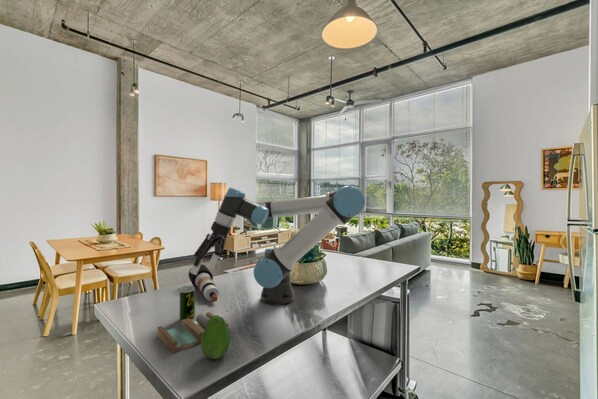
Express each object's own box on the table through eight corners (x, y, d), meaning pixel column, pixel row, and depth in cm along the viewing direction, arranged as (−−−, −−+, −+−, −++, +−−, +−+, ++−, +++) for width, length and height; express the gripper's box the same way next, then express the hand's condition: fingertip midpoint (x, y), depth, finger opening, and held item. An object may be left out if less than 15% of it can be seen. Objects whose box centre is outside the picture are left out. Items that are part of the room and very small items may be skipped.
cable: (209, 315, 118) (198, 297, 115) (194, 286, 147) (185, 271, 144) (230, 301, 123) (220, 283, 119) (211, 275, 151) (203, 260, 148)
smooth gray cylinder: (195, 324, 97) (196, 315, 97) (204, 321, 100) (204, 312, 100) (207, 332, 91) (207, 323, 91) (216, 330, 93) (216, 320, 93)
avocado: (217, 368, 74) (217, 323, 74) (195, 361, 77) (195, 318, 77) (235, 353, 81) (235, 312, 81) (214, 347, 84) (214, 308, 84)
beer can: (176, 321, 102) (176, 288, 103) (187, 315, 107) (187, 284, 108) (187, 323, 100) (187, 290, 101) (197, 317, 105) (198, 286, 106)
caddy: (209, 319, 103) (209, 311, 103) (227, 332, 93) (227, 323, 93) (157, 336, 91) (157, 327, 91) (172, 353, 81) (173, 342, 81)
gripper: (227, 221, 128) (209, 263, 127) (199, 219, 103) (176, 271, 103) (241, 227, 126) (223, 270, 125) (216, 227, 102) (193, 280, 101)
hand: (202, 270), depth 114 cm, fingers open, 13 cm apart
